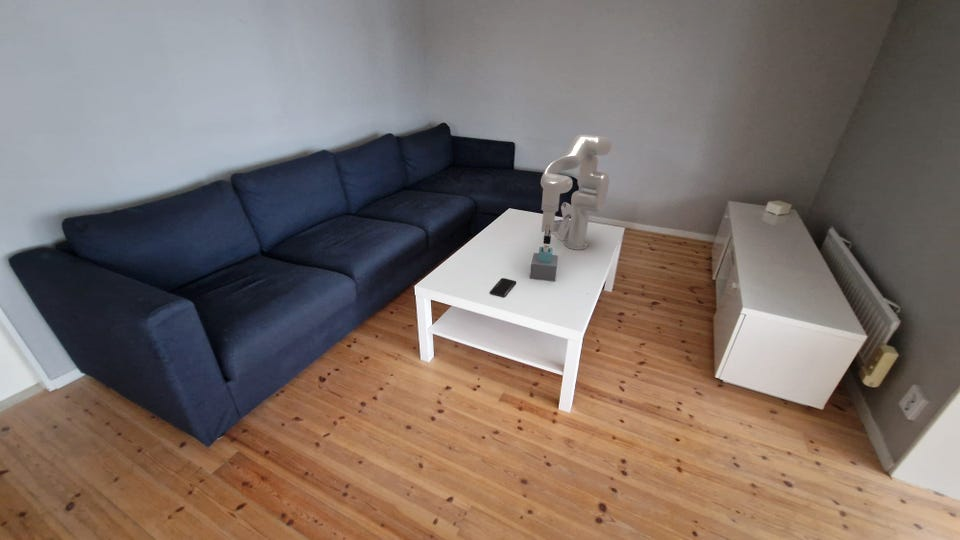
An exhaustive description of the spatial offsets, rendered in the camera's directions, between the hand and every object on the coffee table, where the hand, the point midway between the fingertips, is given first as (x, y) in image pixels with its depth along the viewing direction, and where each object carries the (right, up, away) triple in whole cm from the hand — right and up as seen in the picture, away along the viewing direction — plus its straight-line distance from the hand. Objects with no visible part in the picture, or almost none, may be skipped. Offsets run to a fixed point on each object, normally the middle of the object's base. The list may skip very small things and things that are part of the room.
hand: (546, 243), depth 186 cm
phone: (-21, -22, -4) cm, 30 cm away
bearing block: (0, -15, +8) cm, 16 cm away
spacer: (0, -8, +4) cm, 8 cm away
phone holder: (+18, +8, +51) cm, 54 cm away
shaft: (0, -15, +8) cm, 17 cm away
